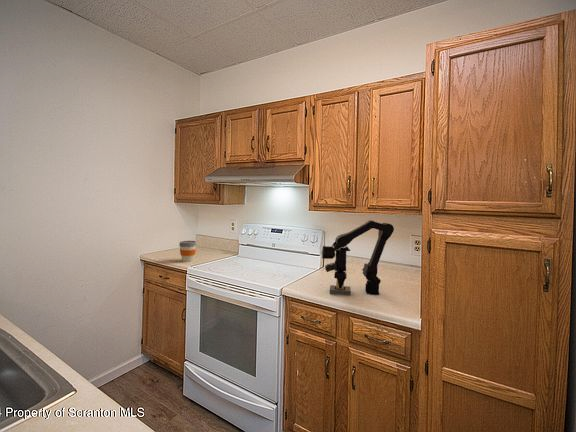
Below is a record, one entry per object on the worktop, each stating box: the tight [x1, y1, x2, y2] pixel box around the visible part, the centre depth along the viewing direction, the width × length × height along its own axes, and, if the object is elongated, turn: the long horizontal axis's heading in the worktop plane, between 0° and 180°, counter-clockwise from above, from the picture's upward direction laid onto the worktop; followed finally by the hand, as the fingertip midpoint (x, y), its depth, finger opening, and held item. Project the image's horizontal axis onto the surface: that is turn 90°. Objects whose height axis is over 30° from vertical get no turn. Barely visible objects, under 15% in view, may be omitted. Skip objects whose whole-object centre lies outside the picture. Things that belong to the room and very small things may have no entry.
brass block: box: [335, 279, 345, 290], centre depth 157 cm, size 4×4×7 cm
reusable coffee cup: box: [179, 240, 197, 263], centre depth 227 cm, size 13×13×15 cm
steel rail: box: [329, 284, 351, 296], centre depth 158 cm, size 11×8×2 cm
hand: (340, 286), depth 158 cm, fingers closed on brass block, 4 cm apart
